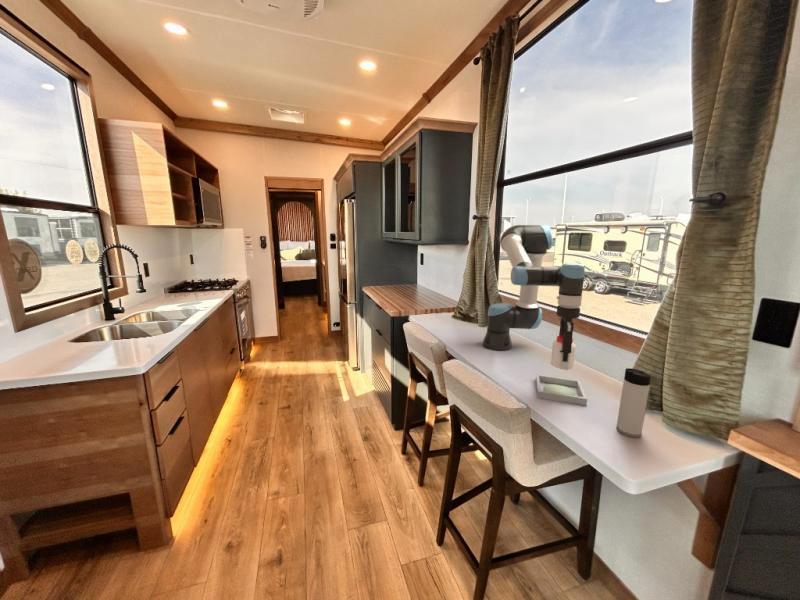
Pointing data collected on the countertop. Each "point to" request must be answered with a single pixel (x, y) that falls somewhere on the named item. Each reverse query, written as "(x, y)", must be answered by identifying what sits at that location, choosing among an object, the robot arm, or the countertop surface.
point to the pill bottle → (557, 354)
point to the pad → (559, 389)
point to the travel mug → (633, 402)
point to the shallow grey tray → (557, 396)
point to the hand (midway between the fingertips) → (562, 364)
